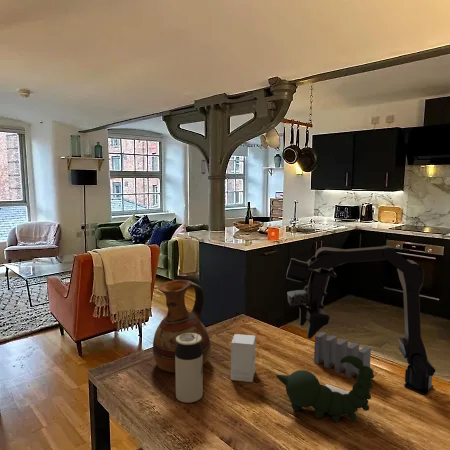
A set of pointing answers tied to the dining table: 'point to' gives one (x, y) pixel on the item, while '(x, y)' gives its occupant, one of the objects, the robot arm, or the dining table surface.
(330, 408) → the toy figurine
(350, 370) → the grey block
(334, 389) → the tile
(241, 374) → the supplement box
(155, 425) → the dining table surface
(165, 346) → the ceramic pitcher
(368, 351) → the tile
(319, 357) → the tile
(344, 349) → the tile
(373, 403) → the dining table surface
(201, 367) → the travel mug
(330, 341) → the tile
